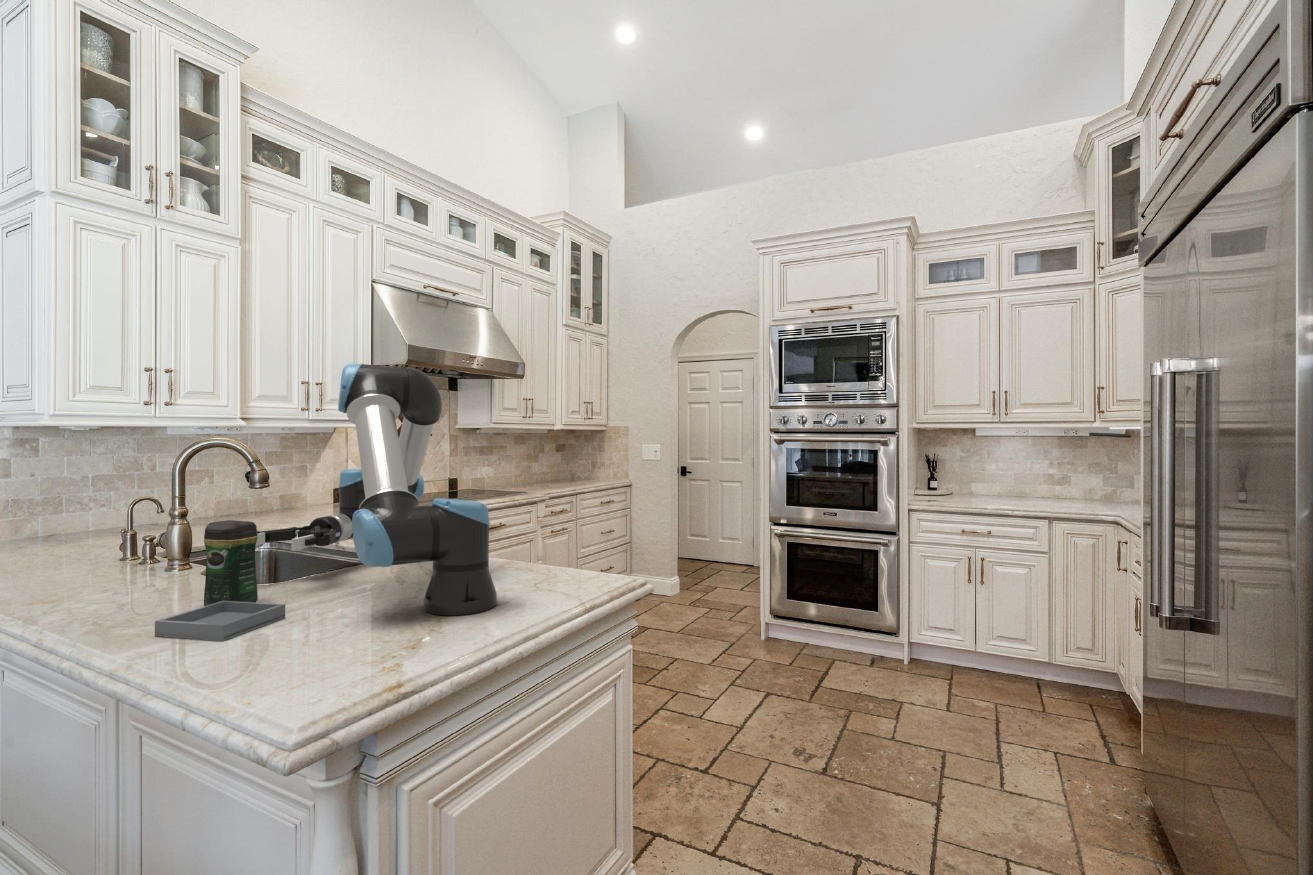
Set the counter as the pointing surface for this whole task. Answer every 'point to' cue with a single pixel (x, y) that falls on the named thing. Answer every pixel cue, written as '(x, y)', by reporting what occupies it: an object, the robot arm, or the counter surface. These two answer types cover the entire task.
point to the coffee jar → (230, 562)
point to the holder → (220, 620)
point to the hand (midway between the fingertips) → (266, 543)
